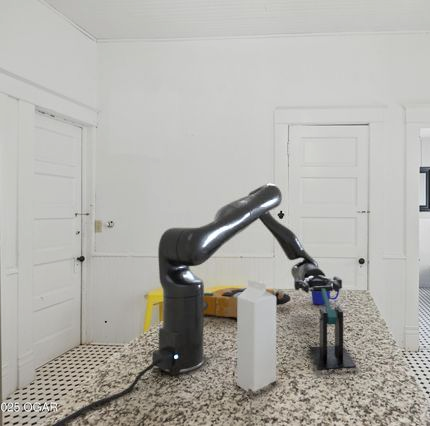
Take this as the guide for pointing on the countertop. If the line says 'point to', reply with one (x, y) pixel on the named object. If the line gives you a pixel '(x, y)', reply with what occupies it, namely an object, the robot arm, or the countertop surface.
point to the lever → (327, 303)
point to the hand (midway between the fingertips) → (322, 288)
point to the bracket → (333, 354)
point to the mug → (321, 297)
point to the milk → (256, 337)
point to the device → (232, 301)
